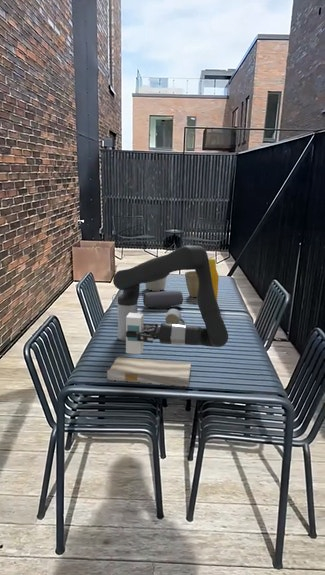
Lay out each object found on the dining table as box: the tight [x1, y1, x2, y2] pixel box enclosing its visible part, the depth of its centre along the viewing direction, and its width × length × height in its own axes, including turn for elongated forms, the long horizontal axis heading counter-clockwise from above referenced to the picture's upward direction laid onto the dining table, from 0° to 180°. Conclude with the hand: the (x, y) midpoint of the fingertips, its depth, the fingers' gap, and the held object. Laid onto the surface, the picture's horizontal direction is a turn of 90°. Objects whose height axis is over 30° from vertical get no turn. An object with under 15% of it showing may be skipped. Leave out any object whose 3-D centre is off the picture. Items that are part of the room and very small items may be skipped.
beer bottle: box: [208, 258, 220, 301], centre depth 240 cm, size 9×9×29 cm
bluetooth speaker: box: [142, 290, 184, 309], centre depth 235 cm, size 23×9×10 cm, turn 108°
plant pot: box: [184, 270, 199, 298], centre depth 261 cm, size 15×15×16 cm
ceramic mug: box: [165, 308, 187, 325], centre depth 205 cm, size 11×8×8 cm
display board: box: [106, 356, 192, 388], centre depth 149 cm, size 15×30×4 cm, turn 82°
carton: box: [125, 312, 145, 355], centre depth 145 cm, size 6×6×14 cm
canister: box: [144, 277, 167, 292], centre depth 275 cm, size 18×18×21 cm
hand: (128, 331), depth 145 cm, fingers closed on carton, 5 cm apart
